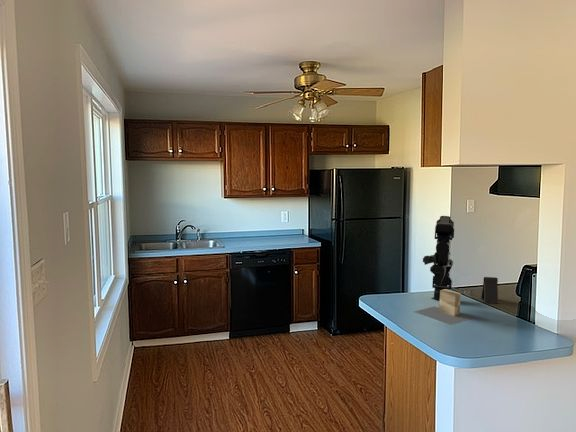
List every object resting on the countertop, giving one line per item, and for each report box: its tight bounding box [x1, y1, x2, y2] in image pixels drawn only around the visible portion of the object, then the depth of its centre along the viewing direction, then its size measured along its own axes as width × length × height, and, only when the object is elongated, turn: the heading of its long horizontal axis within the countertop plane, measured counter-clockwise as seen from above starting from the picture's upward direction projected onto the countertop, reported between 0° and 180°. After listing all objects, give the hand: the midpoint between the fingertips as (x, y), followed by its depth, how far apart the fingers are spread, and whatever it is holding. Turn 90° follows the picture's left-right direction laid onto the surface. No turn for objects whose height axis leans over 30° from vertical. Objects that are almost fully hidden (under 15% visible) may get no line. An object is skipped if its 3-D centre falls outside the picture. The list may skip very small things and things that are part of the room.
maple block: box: [438, 289, 462, 316], centre depth 208 cm, size 4×8×10 cm, turn 35°
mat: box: [413, 305, 472, 326], centre depth 206 cm, size 15×20×1 cm
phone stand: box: [480, 276, 499, 304], centre depth 230 cm, size 9×6×12 cm, turn 170°
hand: (440, 283), depth 213 cm, fingers open, 9 cm apart
